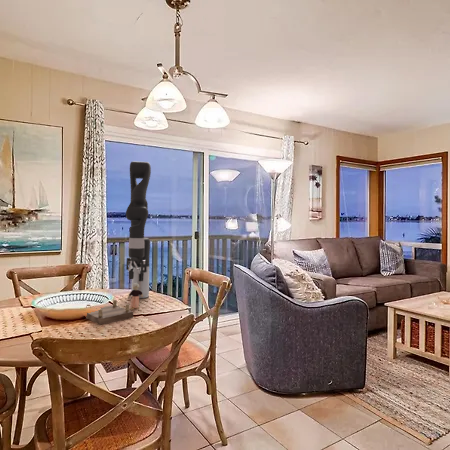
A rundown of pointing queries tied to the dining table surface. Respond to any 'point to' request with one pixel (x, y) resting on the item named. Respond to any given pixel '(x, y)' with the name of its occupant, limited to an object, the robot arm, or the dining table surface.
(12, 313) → the dining table surface
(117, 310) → the grey peg board
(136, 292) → the grandmother figurine
